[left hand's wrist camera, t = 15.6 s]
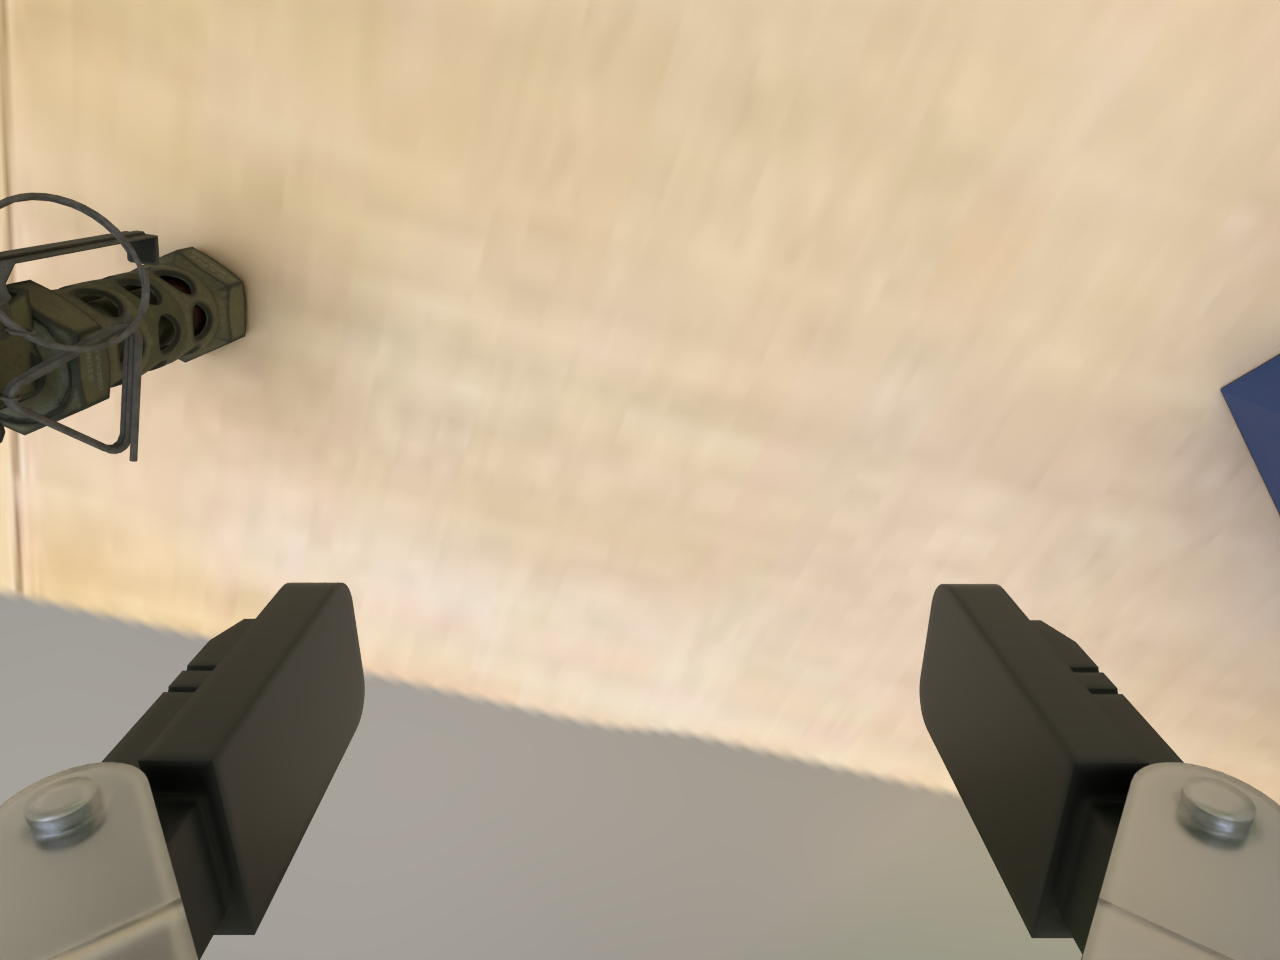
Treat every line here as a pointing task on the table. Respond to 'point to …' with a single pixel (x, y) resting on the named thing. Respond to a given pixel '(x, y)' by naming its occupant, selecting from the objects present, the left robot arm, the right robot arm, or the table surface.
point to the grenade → (106, 328)
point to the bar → (1260, 419)
